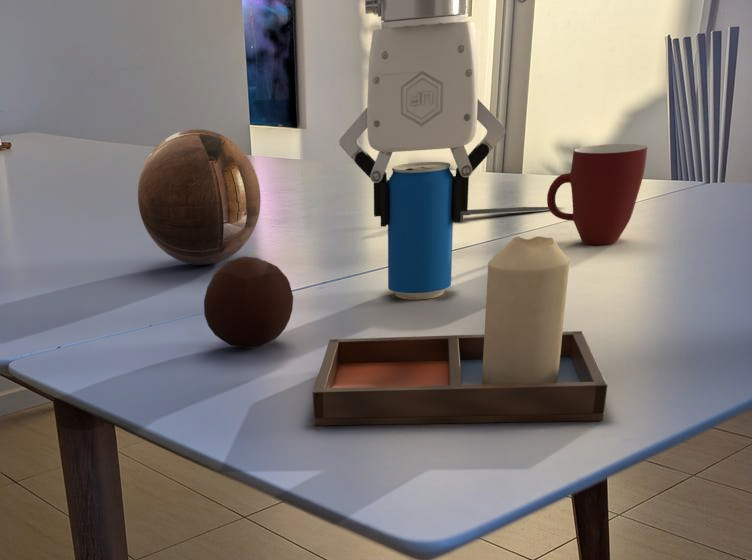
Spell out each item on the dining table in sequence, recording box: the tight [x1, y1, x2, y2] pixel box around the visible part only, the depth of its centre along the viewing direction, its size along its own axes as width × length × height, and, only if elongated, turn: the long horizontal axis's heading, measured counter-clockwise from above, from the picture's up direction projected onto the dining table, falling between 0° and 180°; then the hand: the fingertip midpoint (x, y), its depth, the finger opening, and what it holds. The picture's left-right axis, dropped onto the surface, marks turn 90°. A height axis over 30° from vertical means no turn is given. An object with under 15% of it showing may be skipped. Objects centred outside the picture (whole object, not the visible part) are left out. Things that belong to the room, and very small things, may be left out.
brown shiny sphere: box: [137, 128, 262, 266], centre depth 112 cm, size 15×15×15 cm
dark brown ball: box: [203, 256, 294, 349], centre depth 82 cm, size 8×9×8 cm
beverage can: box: [387, 161, 455, 301], centre depth 92 cm, size 6×6×12 cm
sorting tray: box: [312, 330, 608, 426], centre depth 69 cm, size 20×13×2 cm, turn 82°
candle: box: [482, 236, 571, 384], centre depth 66 cm, size 6×6×10 cm
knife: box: [460, 206, 559, 222], centre depth 129 cm, size 23×2×5 cm
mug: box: [546, 143, 648, 246], centre depth 108 cm, size 11×8×10 cm
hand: (420, 220), depth 92 cm, fingers closed on beverage can, 6 cm apart
